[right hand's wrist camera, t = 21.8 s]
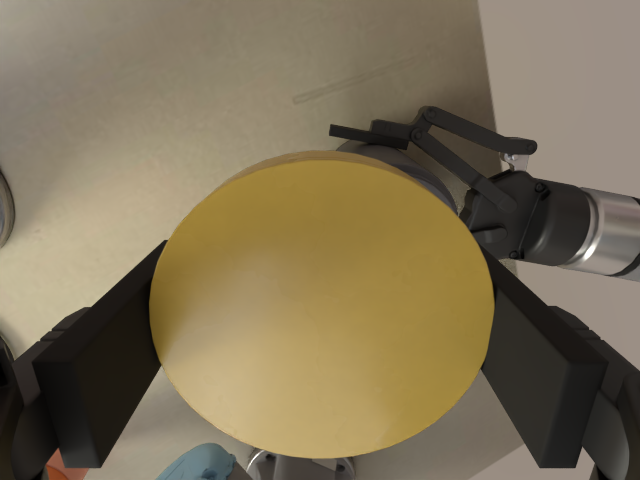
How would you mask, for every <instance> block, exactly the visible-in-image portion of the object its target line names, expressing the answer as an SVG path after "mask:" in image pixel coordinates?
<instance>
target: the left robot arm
mask: <svg viewBox="0 0 640 480" xmlns="http://www.w3.org/2000/svg"><path fill="white" fill-rule="evenodd" d="M432 125H435V126H437V127H439V128H442V129H444V130H446V131H449V132H451V133H453V134H456V135H458V136H460V137H463V138H465V139H467V140H470V141H472V142H474V143H477V144H479V145H481V146H484V147H486V148H489V149H492V150H495V151H498V152H500V158H501V160H503V161H505V162H507V163H508V164H509V166H510V169H508V170H506V171H504V172H501V173H499V174H497V175H495V176H492V177H490V178H488V179H487V178H486V177H484V176H483V175H481V174H480V173H478V172H477V171H476V170H475V169H473V168H472V167H471V166H469V165H468V164H467V163H466V162H464V161H463V160H462V159H460V158H459V157H458V156H457V155H455V154H454V153H453V152H452V151H450V150H449V149H448V148H446V147H445V146H444V145H443V144H441V143H440V142H439V141H437V140H436V139H435V138H434V137H432V136H431V135H430V134H429V133H427V132H428V130H429V129H430V127H431V126H432ZM329 136H334V137H340V138H345V139H350V140H356V141H361V142H366V143H371V144H377V145H382V146H387V147H393V148H398V149H403V150H407V146H408V142H409V141H411V142H413V143H414V144H415V145H417V146H418V147H419V148H420V149H422V150H423V151H424V152H426V153H427V154H428V155H430V156H431V157H432V158H433V159H435V160H436V161H437V162H439V163H440V164H441V165H443V166H444V167H445V168H446V169H448V170H449V171H450V172H452V173H453V174H454V175H456V176H457V177H458V178H459V179H461V180H462V181H463V182H464V183H466V184H467V185H468V186H469V187H471V189H470V190H467V193H466V196H465V206H464V208H463V210H462V211H461V213H460V215H459V218H460V219H461V220H462V222H463V223H464V224H465V225H466V226H467V228H468V229H469V231H470V232H471V234H472V235H473V237H474V238H475V240H476V241H477V242H478V243H479V244H481V245H482V246H483V247H484V248H485V249H486V250H487V251H488V252H489V253H490V254H492V255H493V256H494V257H495V258H496V259H497V260H500V259H504V258H510V259H514V260H519V261H525V262H531V263H537V264H542V265H548V266H557V267H560V268H563V269H569V270H576V271H582V272H589V273H595V274H601V275H605V276H610V277H611V276H612V277H617V278H622V279H627V280H632V281H637V282H640V199H638V198H635V197H630V196H626V195H620V194H615V193H610V192H605V191H599V190H595V189H589V188H583V187H581V188H578V187H576V186H574V185H569V184H564V183H558V182H553V181H547V180H542V179H537V178H533V177H532V176H531V175H529V174H528V173H527V172H526V167H527V163H528V158H529V155H531V154H533V153H534V152H535V151H536V150H537V143H536V142H535V141H533V140H528V139H523V138H518V137H504V136H502V135H499V134H497V133H495V132H493V131H490V130H488V129H486V128H483V127H481V126H479V125H476V124H474V123H472V122H469V121H467V120H465V119H463V118H460V117H458V116H456V115H453V114H451V113H449V112H446V111H444V110H442V109H439V108H437V107H434V106H423V107H421V108H420V110H419V112H418V115H417V116H416V118H415V119H414V121H413V122H411V123H410V124H400V123H395V122H390V121H385V120H379V119H376V120H372V121H371V125H370V130H369V131H364V130H359V129H353V128H348V127H343V126H338V125H332V124H331V125H330V131H329ZM156 480H355V472H354V464H353V461H352V459H351V457H341V458H302V457H292V456H287V455H282V454H277V453H273V452H269V451H266V450H263V449H259V448H255V450H254V451H253V452H252V454H251V456H250V459H249V463H248V467H247V472H246V471H245V470H244V469H243V468H242V467H241V466H240V465H239V464H238V462H237V461H236V457H235V456H234V455H233V454H229V453H228V452H227V451H226V450H225V449H223V448H222V447H221V446H220V445H218V444H215V443H206V444H202V445H199V446H197V447H195V448H193V449H192V450H190V451H188V452H186V453H185V454H183V455H182V456H181V457H179V458H178V459H177V460H176V461H174V462H173V463H172V464H171V465H170V466H169V467H168V468H166V469H165V470H164V471H163V472H162V473H161V474H160V475H159V476H158V477H157V479H156Z"/></svg>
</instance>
